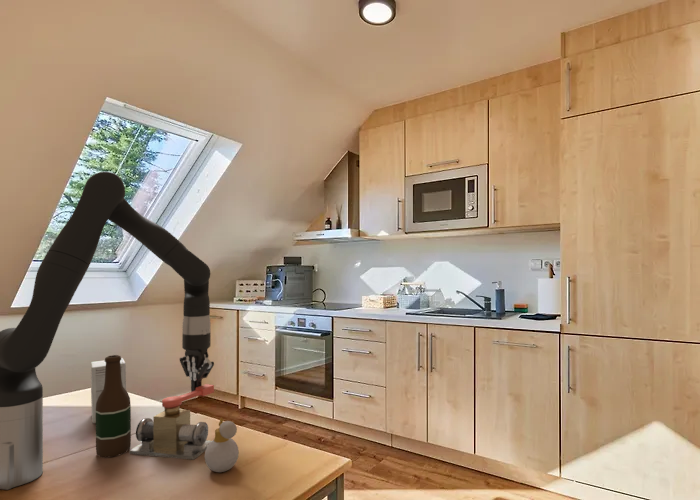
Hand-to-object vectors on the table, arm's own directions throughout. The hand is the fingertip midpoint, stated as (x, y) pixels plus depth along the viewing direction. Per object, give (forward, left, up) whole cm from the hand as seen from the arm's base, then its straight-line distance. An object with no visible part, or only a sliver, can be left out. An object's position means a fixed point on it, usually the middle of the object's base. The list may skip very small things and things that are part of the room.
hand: (196, 392), depth 122 cm
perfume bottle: (-20, -20, -11) cm, 30 cm away
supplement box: (+6, +35, -11) cm, 37 cm away
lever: (-6, -2, 0) cm, 7 cm away
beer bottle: (-16, +14, -11) cm, 23 cm away
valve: (-12, 0, -11) cm, 16 cm away
